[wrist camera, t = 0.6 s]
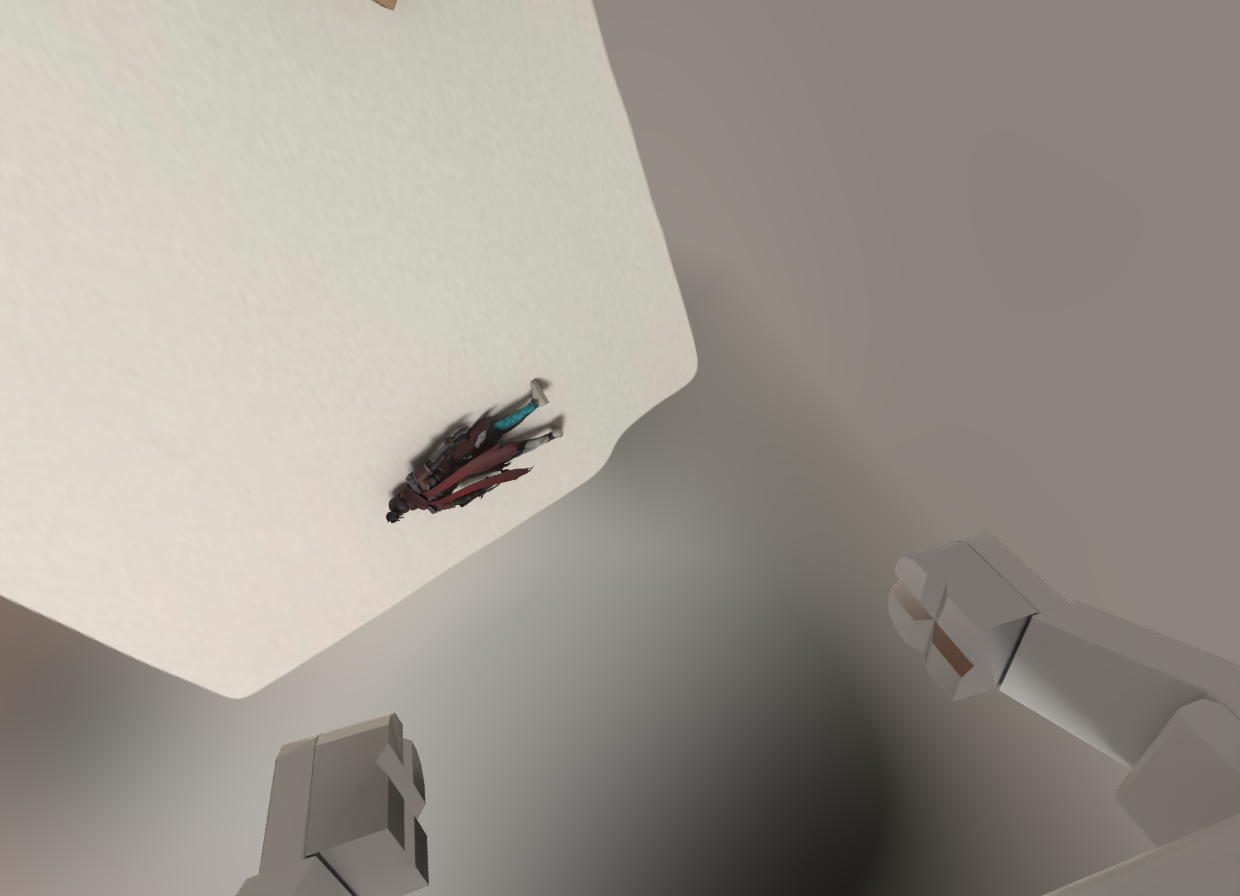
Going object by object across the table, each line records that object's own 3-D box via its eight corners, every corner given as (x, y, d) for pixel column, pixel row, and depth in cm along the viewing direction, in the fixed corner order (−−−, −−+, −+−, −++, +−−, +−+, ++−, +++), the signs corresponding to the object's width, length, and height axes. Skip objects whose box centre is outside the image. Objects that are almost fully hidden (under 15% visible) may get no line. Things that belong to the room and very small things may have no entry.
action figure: (529, 372, 61) (355, 473, 58) (555, 399, 57) (369, 510, 53) (558, 434, 67) (401, 530, 63) (584, 462, 62) (417, 568, 58)
